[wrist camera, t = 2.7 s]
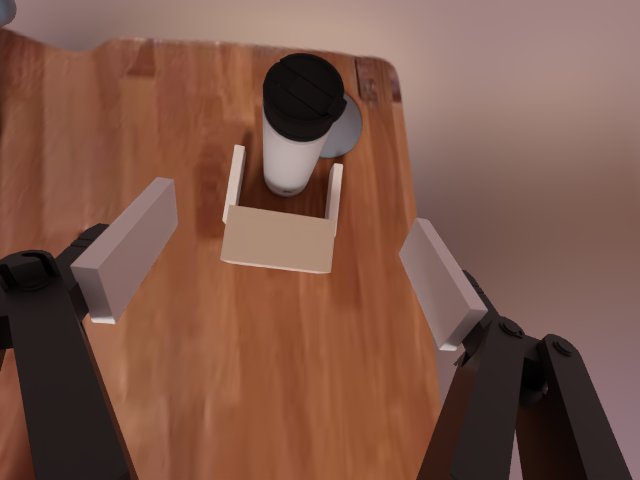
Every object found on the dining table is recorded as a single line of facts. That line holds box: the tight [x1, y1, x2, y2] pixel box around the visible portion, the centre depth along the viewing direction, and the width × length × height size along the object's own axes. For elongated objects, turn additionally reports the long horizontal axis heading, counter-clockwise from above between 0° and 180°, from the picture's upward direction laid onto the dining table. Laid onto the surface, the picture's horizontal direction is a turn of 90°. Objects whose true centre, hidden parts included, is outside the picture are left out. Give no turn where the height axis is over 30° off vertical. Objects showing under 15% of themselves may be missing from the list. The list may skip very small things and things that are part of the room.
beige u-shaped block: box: [220, 145, 343, 274], centre depth 36 cm, size 15×14×8 cm
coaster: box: [319, 93, 362, 159], centre depth 42 cm, size 11×11×1 cm
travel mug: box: [262, 53, 347, 197], centre depth 31 cm, size 6×7×20 cm
